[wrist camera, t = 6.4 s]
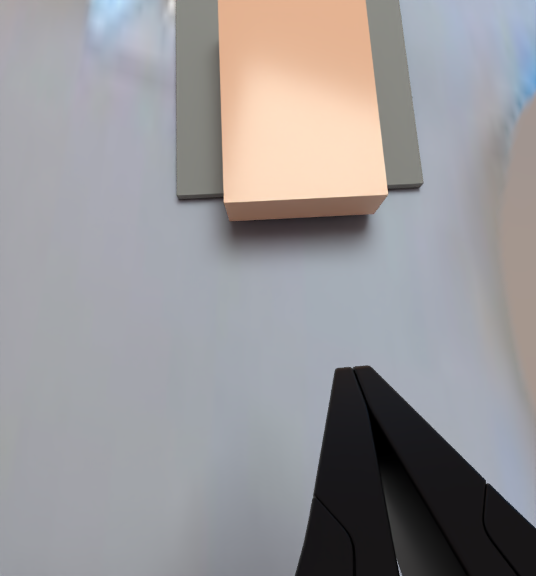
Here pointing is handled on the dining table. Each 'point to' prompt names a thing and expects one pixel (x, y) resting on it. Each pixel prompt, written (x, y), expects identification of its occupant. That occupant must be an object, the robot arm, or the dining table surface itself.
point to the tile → (298, 110)
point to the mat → (207, 98)
